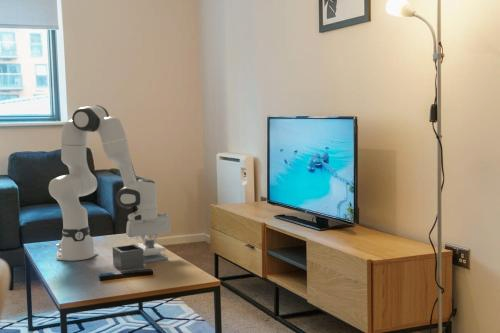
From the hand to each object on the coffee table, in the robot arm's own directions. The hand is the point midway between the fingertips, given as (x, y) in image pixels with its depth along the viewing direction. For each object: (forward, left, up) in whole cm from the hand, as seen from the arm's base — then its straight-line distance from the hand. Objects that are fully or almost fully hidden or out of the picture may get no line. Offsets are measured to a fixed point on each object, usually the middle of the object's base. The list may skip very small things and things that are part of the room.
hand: (149, 244), depth 303 cm
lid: (0, 0, -4) cm, 4 cm away
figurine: (-14, +3, -7) cm, 16 cm away
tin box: (+9, -13, -6) cm, 17 cm away
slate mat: (0, 0, -6) cm, 6 cm away
